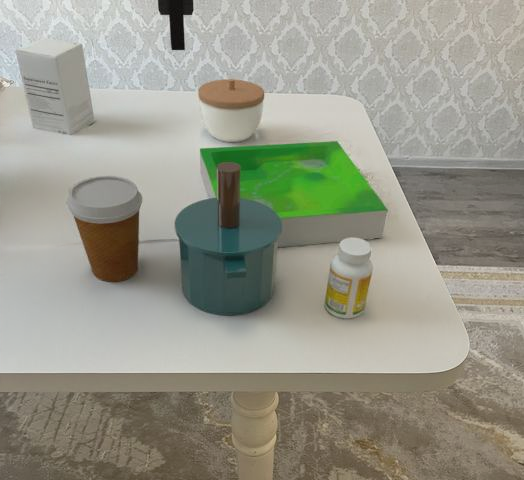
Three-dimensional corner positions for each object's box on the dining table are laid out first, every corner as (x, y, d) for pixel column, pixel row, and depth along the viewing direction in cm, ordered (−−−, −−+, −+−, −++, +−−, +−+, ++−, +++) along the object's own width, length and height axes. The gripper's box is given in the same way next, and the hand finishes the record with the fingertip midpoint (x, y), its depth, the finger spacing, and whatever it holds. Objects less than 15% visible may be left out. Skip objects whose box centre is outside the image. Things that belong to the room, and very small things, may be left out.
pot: (185, 332, 74) (182, 269, 68) (179, 252, 87) (175, 194, 81) (284, 325, 76) (290, 264, 69) (263, 248, 89) (266, 191, 82)
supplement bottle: (327, 320, 77) (337, 258, 70) (321, 295, 81) (329, 234, 74) (368, 319, 77) (381, 257, 71) (360, 294, 81) (371, 234, 75)
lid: (177, 263, 70) (172, 196, 64) (172, 206, 79) (168, 143, 74) (290, 257, 71) (296, 192, 66) (272, 202, 81) (275, 141, 75)
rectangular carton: (58, 114, 123) (43, 36, 113) (95, 122, 121) (84, 42, 111) (31, 130, 117) (13, 48, 107) (71, 138, 115) (56, 56, 105)
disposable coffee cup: (120, 297, 79) (108, 217, 71) (65, 275, 82) (48, 196, 74) (163, 263, 85) (156, 186, 77) (110, 243, 88) (99, 167, 80)
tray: (381, 238, 92) (387, 209, 89) (224, 251, 88) (224, 222, 84) (333, 167, 110) (337, 141, 107) (200, 175, 106) (199, 148, 102)
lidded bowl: (189, 143, 115) (187, 85, 108) (213, 120, 124) (212, 65, 117) (250, 155, 113) (252, 95, 105) (270, 130, 122) (273, 74, 114)
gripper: (82, -256, 48) (118, 57, 64) (242, -245, 50) (238, 56, 66) (88, -250, 53) (120, 37, 69) (232, -240, 55) (230, 37, 71)
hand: (177, 46), depth 67 cm, fingers closed
